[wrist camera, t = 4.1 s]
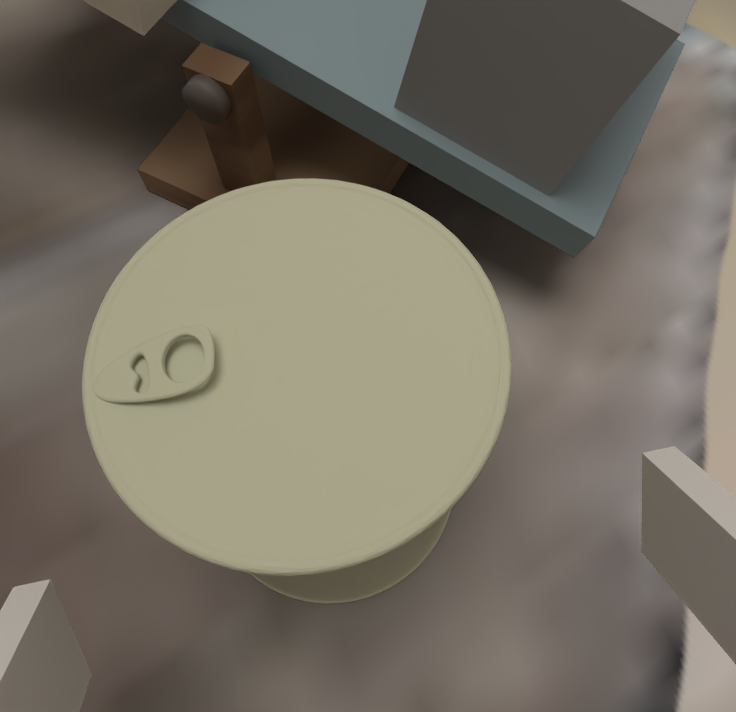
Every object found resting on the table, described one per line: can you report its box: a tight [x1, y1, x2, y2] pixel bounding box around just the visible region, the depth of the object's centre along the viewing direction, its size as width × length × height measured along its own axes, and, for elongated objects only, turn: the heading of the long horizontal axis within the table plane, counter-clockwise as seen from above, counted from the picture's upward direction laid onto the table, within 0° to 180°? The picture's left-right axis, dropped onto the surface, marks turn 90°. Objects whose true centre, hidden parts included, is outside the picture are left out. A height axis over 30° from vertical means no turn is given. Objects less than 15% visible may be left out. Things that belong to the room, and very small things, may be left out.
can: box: [82, 178, 512, 604], centre depth 18 cm, size 9×9×12 cm
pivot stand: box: [137, 43, 409, 210], centre depth 27 cm, size 10×15×8 cm, turn 152°
